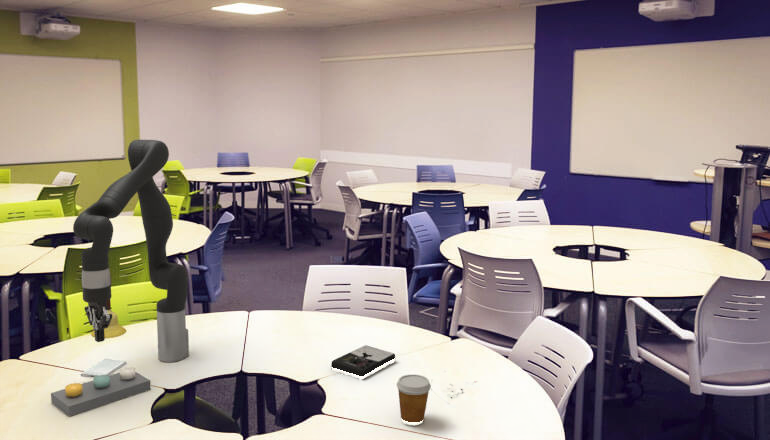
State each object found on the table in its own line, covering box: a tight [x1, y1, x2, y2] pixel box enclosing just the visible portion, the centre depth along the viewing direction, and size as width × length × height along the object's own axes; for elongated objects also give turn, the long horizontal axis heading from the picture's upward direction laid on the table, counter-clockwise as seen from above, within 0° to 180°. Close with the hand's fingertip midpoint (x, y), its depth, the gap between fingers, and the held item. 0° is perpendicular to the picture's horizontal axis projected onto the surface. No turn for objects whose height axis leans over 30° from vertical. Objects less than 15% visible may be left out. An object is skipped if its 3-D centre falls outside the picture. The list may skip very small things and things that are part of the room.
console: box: [50, 371, 152, 417], centre depth 185 cm, size 24×12×3 cm, turn 139°
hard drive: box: [80, 358, 128, 379], centre depth 204 cm, size 2×8×12 cm
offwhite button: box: [119, 366, 137, 379], centre depth 191 cm, size 4×4×2 cm
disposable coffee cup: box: [396, 374, 432, 422], centre depth 175 cm, size 10×10×12 cm
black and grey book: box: [330, 344, 396, 376], centre depth 213 cm, size 13×19×5 cm
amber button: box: [64, 382, 83, 396], centre depth 179 cm, size 4×4×2 cm
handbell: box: [90, 273, 127, 339], centre depth 235 cm, size 12×12×25 cm
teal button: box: [92, 375, 110, 388], centre depth 185 cm, size 4×4×2 cm
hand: (99, 340), depth 183 cm, fingers closed
